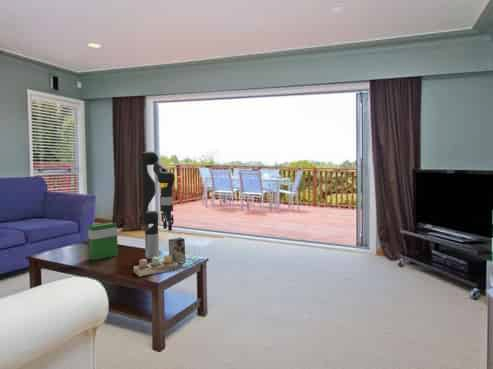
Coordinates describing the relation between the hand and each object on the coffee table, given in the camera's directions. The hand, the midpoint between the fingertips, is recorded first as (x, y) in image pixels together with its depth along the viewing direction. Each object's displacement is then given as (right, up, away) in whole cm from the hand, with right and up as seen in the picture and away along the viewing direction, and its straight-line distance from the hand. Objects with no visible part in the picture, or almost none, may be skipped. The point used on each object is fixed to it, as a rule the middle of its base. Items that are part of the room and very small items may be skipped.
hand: (167, 229), depth 233 cm
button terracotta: (-14, -23, -4) cm, 27 cm away
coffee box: (+3, -24, +17) cm, 30 cm away
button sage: (-7, -23, 0) cm, 24 cm away
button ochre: (-1, -22, +5) cm, 23 cm away
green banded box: (-53, -24, +33) cm, 67 cm away
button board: (-7, -26, 0) cm, 27 cm away
